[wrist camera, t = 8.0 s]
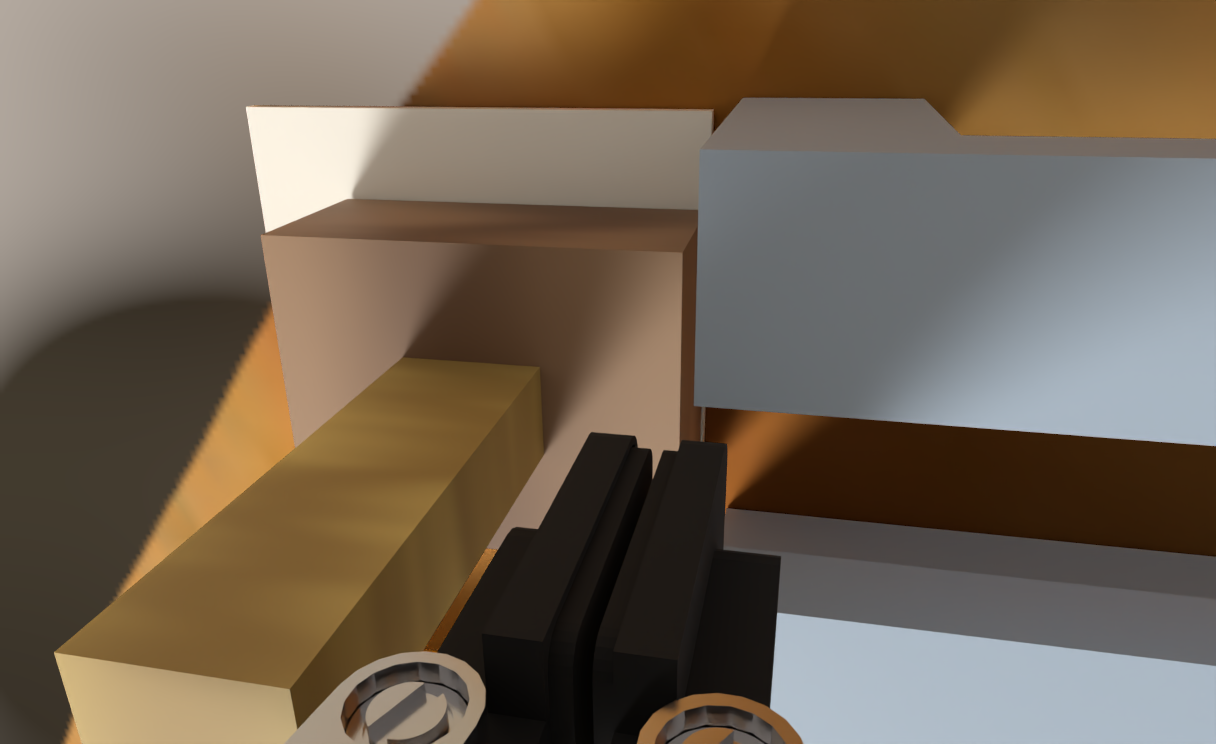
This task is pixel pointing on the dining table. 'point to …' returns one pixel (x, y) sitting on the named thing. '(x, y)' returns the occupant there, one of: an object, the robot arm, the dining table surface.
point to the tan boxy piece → (397, 450)
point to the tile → (476, 157)
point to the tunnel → (966, 408)
